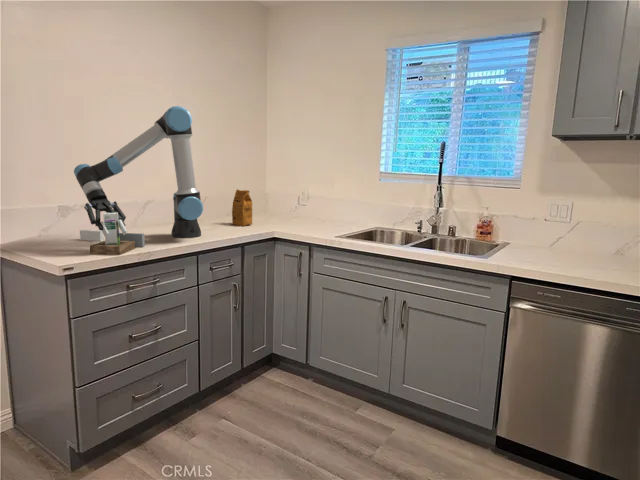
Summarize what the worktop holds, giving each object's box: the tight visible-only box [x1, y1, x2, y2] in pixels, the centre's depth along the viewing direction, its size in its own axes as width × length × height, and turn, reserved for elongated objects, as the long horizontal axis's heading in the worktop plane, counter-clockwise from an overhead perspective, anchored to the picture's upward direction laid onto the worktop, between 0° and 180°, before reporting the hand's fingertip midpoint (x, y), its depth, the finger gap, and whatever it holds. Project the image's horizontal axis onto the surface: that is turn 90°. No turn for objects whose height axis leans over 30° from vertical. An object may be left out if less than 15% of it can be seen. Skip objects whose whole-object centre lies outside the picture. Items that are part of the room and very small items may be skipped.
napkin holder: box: [79, 229, 105, 242], centre depth 218 cm, size 15×11×6 cm
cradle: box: [89, 240, 136, 256], centre depth 192 cm, size 13×13×4 cm
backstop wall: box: [119, 232, 146, 248], centre depth 204 cm, size 16×2×6 cm, turn 86°
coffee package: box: [231, 188, 253, 227], centre depth 275 cm, size 10×12×22 cm
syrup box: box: [102, 212, 120, 246], centre depth 191 cm, size 6×6×14 cm
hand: (116, 234), depth 189 cm, fingers closed on syrup box, 7 cm apart
